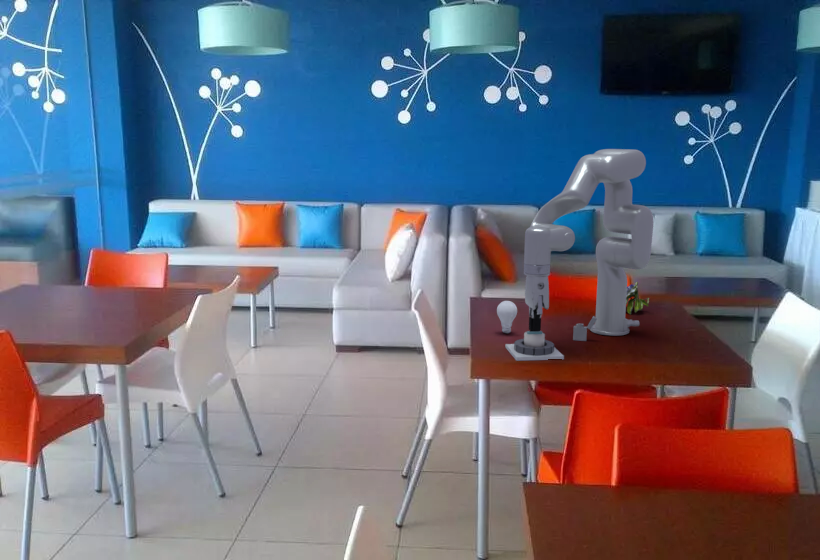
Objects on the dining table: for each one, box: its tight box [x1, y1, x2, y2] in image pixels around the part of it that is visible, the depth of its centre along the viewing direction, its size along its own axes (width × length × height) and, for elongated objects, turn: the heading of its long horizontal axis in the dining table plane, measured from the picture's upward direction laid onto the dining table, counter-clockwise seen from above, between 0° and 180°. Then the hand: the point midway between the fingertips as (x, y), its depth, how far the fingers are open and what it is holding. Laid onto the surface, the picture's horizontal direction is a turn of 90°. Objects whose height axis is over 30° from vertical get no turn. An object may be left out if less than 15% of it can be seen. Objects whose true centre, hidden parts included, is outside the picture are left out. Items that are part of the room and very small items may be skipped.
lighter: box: [572, 315, 597, 342], centre depth 233 cm, size 7×2×8 cm, turn 75°
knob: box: [523, 330, 546, 347], centre depth 218 cm, size 6×6×6 cm
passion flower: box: [626, 281, 650, 315], centre depth 274 cm, size 13×12×14 cm
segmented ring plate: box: [505, 338, 565, 362], centre depth 219 cm, size 14×14×3 cm
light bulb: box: [496, 300, 518, 335], centre depth 240 cm, size 7×7×11 cm
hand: (534, 330), depth 217 cm, fingers closed
